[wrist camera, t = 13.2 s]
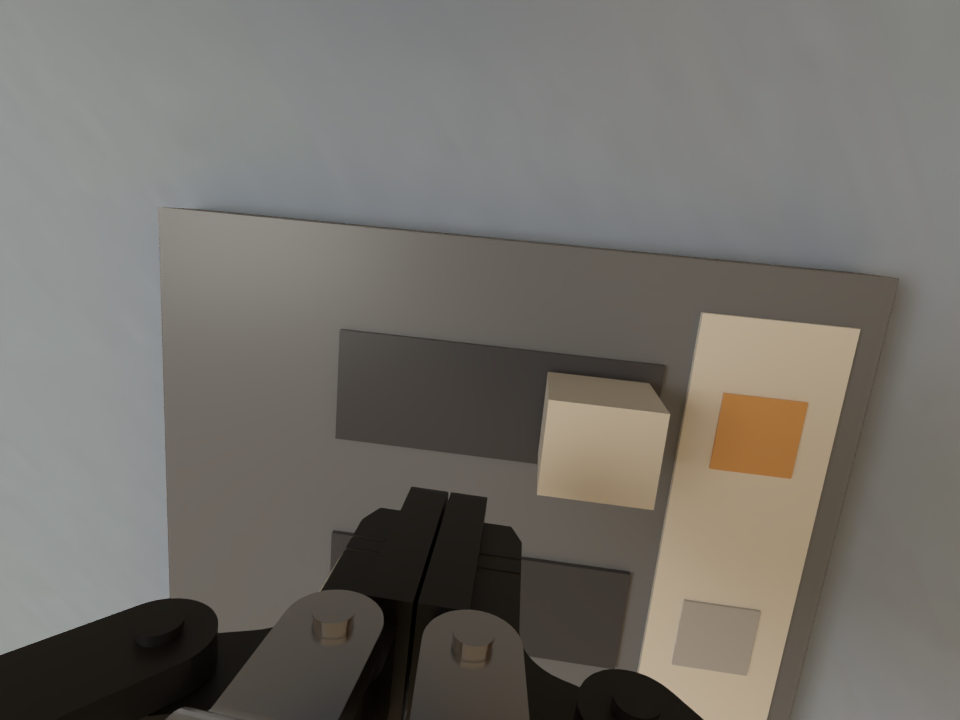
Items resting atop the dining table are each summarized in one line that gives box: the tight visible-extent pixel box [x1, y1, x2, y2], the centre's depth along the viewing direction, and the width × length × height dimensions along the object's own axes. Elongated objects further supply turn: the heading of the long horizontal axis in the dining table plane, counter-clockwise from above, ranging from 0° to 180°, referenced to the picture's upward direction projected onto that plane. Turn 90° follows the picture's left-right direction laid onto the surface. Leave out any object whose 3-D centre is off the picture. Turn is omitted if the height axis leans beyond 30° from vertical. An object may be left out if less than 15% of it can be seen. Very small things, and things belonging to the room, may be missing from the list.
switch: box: [537, 372, 670, 510], centre depth 17 cm, size 3×3×3 cm
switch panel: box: [158, 207, 899, 720], centre depth 21 cm, size 22×24×2 cm
